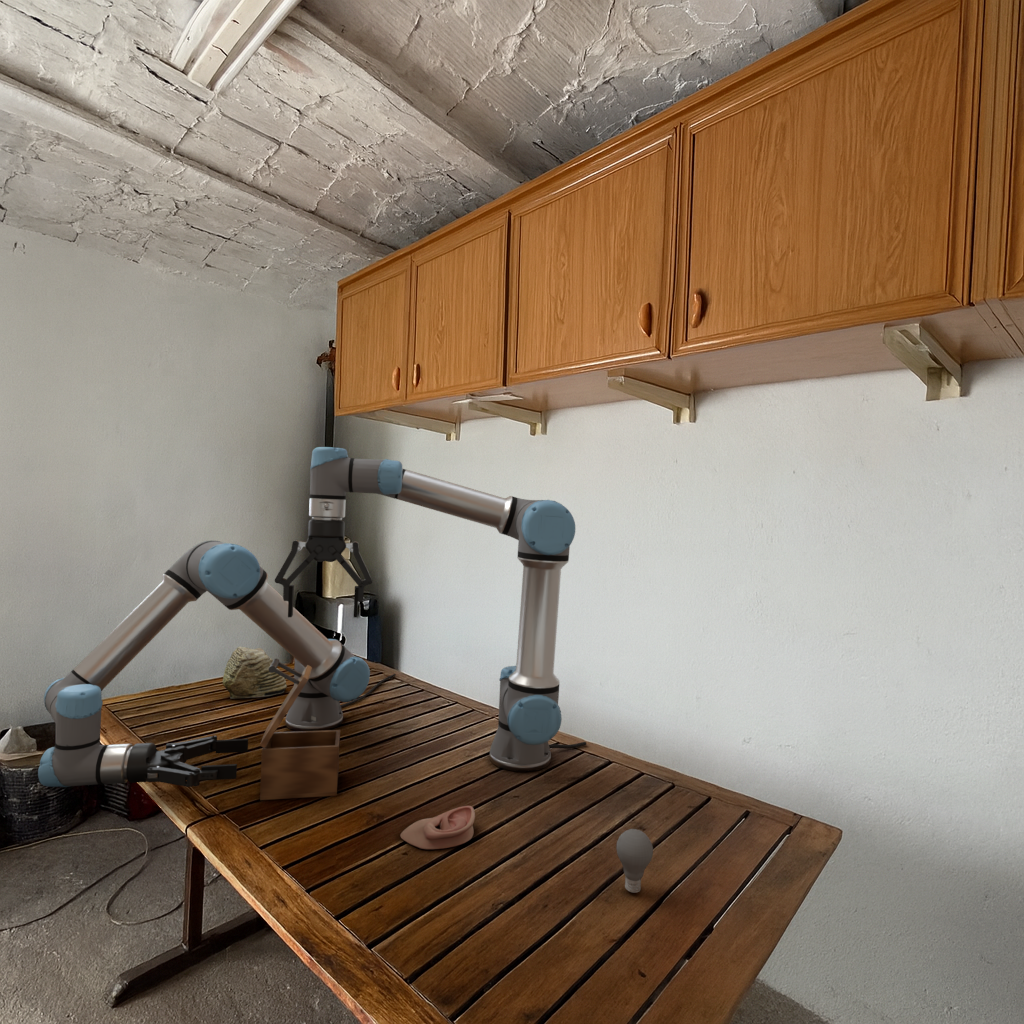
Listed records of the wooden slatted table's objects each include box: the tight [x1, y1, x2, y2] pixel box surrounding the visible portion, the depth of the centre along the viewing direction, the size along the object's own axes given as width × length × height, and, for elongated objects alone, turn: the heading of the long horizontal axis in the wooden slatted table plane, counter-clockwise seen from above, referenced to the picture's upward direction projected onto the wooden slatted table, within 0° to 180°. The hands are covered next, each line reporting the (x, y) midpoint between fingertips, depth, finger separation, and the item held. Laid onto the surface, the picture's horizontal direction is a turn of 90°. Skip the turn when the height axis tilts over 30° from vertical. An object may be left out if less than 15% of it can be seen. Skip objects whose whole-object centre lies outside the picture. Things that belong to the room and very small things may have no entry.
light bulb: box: [615, 828, 654, 894], centre depth 106 cm, size 6×6×10 cm
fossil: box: [222, 646, 288, 699], centre depth 198 cm, size 9×18×15 cm, turn 132°
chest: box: [259, 729, 341, 801], centre depth 137 cm, size 15×10×11 cm, turn 103°
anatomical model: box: [399, 805, 476, 850], centre depth 121 cm, size 13×4×12 cm
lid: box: [259, 658, 312, 748], centre depth 136 cm, size 16×10×8 cm
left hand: (242, 757), depth 134 cm, fingers open, 13 cm apart
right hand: (323, 616), depth 138 cm, fingers open, 13 cm apart
